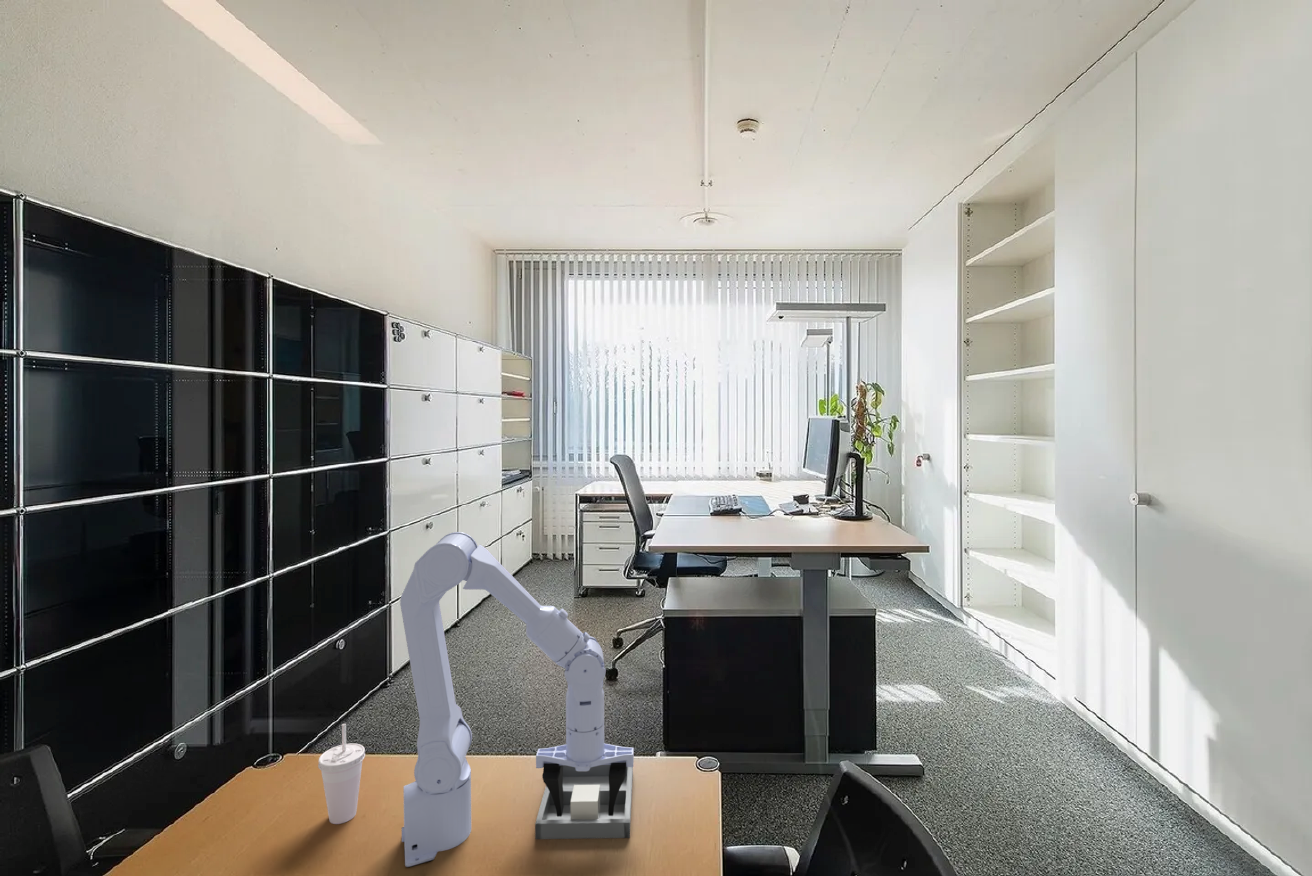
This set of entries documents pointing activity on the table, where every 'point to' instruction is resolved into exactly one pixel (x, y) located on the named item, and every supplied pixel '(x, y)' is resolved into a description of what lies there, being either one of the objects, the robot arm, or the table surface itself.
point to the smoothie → (342, 779)
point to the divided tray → (603, 827)
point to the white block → (585, 802)
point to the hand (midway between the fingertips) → (585, 812)
